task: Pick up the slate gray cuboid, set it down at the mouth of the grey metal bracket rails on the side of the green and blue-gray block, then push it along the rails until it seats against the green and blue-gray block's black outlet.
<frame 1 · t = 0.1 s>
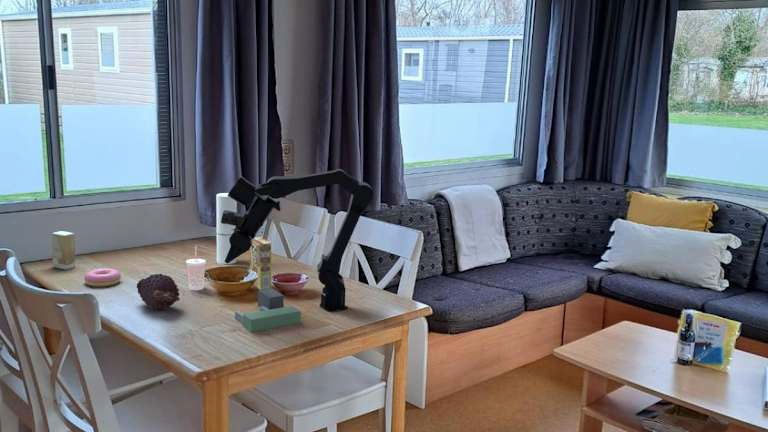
hand: (227, 258, 196), 15 cm above the table, tool tilted 30°, fingers open, 9 cm apart
green and blue-gray block: (260, 323, 187), on the table
beverage cup: (196, 288, 216), on the table
cylindrical container: (226, 262, 249), on the table
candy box: (260, 286, 221), on the table
doughnut: (102, 283, 217), on the table
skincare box: (64, 267, 232), on the table
pine cone: (158, 308, 196), on the table
slate gray cuboid: (270, 309, 200), on the table
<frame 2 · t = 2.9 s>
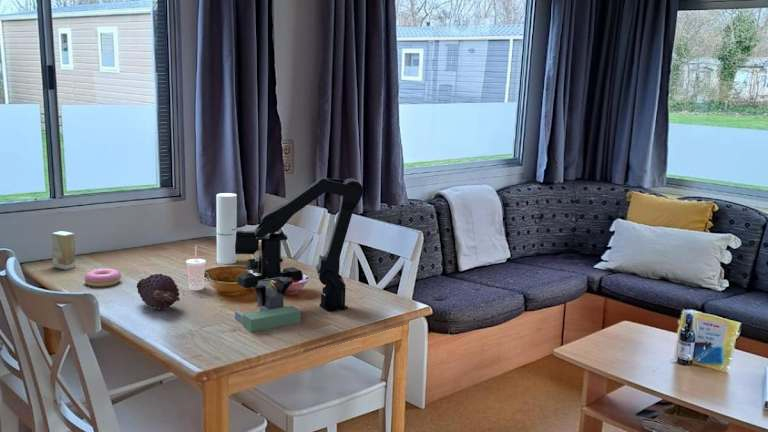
hand: (270, 305, 199), 1 cm above the table, tool pointing down, fingers closed on slate gray cuboid, 4 cm apart
slate gray cuboid: (270, 308, 200), on the table, touching gripper
everything else where it was.
when the fingers open (3 cm above the table, at t = 6.2 s): slate gray cuboid drops 2 cm, on the table.
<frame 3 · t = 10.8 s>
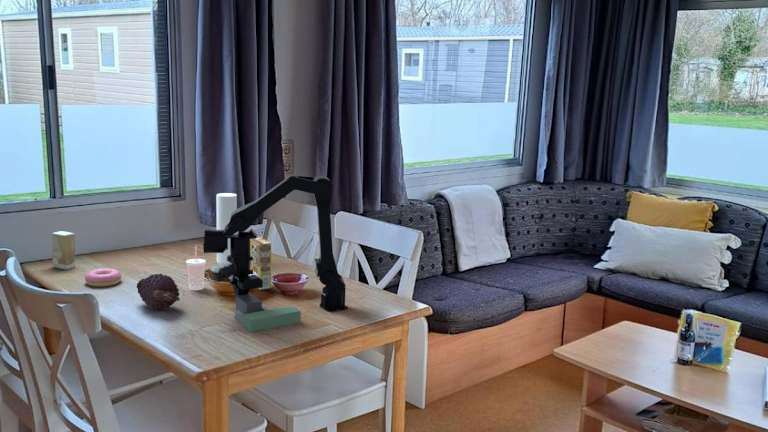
hand: (240, 304, 198), 1 cm above the table, tool pointing down, fingers closed
slate gray cuboid: (248, 315, 193), on the table, touching gripper
everything else where it was.
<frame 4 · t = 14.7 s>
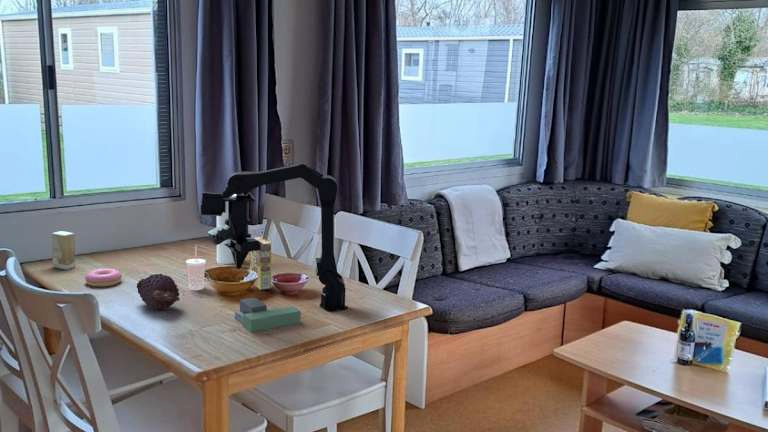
hand: (238, 268, 197), 12 cm above the table, tool pointing down, fingers closed
slate gray cuboid: (253, 319, 190), on the table
everything else where it was.
at the end: slate gray cuboid 0.7 cm from the target spot, on the table; slate gray cuboid tilted 0°; the gripper is holding nothing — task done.
